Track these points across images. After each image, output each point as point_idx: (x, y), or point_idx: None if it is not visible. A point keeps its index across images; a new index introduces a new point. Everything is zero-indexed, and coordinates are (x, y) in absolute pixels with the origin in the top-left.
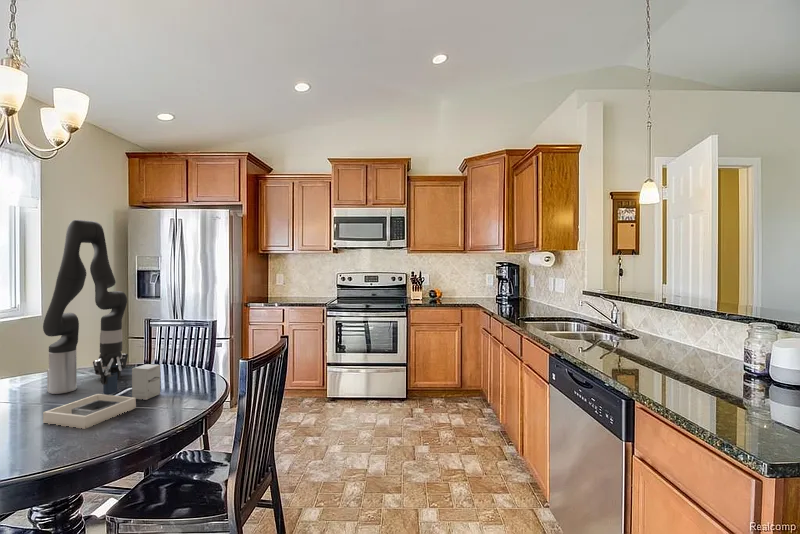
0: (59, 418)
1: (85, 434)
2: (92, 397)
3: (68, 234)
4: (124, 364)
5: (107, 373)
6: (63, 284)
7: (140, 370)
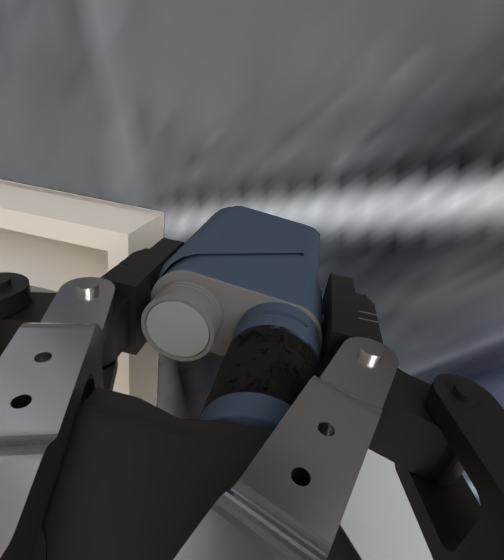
0: None
1: None
2: (72, 239)
3: None
4: (437, 521)
5: (196, 312)
6: None
7: None
